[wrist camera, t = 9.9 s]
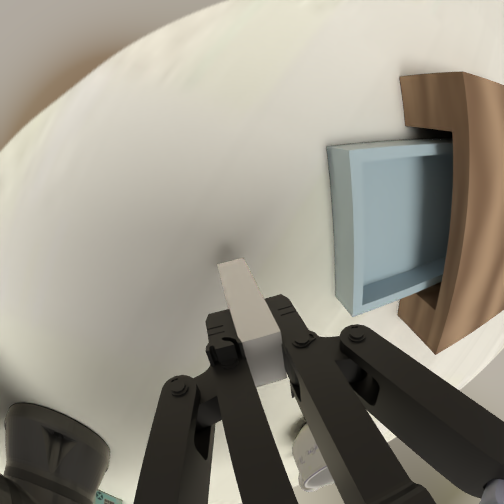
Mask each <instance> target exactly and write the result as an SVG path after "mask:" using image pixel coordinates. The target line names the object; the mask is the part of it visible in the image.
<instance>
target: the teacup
mask: <svg viewBox="0 0 504 504" xmlns="http://www.w3.org/2000/svg"><path fill="white" fill-rule="evenodd" d="M292 451H293V456H294V459H295V462H296V465H297V467H298V470H299V478H298V479H299V485H300V487H301V488H302V489H303V490H304V491H306V492H313V491H316V490H318V489H319V488H320V487H324V486H327V485H330V484H333V483H335V482H334V480H333V478H332V476H331V474H330V472H329V470H328V467H327V465H326V463H325V461H324V459H323V457H322V455H321V452H320V450H319V448H318V446H317V444H316V442H315V440H314V437H313V435H312V433H311V431H310V429H309V427H308V424H305V425H304V426H303V428H302V429H301V430H300V432H299V434H298V436H297V437H296V439H295V440H294V443H293V447H292Z"/></svg>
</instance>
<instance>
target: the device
mask: <svg viewBox="0 0 504 504" xmlns="http://www.w3.org/2000/svg"><path fill="white" fill-rule="evenodd" d="M93 504H122V500H121V499H118V498H116V497H113V496H111V495H109V494H106V493H104V492H102V491H100V490H97V492H96V494H95V496H94V499H93Z"/></svg>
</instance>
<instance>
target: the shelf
mask: <svg viewBox="0 0 504 504" xmlns="http://www.w3.org/2000/svg"><path fill="white" fill-rule="evenodd" d="M400 83H401V90H402V98H403V106H404V115H405V126H411V127H420V128H429V129H437V130H444V131H451V132H452V136H453V191H452V208H451V220H450V230H449V238H448V246H447V253H446V260H445V266H444V272H443V277H442V282H440V283H437V284H435V285H433V286H430V287H428V288H426V289H423V290H421V291H419V292H416V293H414V294H412V295H409V296H407V297H404V298H402V299H400V303H399V310H398V316H399V317H400V318H401V319H402V320H403V321H404V322H405V323H406V324H407V325H408V326H409V327H410V329H411V330H412V331H413V332H414V333H415V334H416V335H417V336H418V337H419V338H420V339H421V340H422V341H423V342H424V343H425V344H426V345H427V346H428V347H429V349H430V350H431V351H432V352H433V353H434V354H435V355H436V354H438V353H439V352H441V351H443V350H444V349H446V348H448V347H449V346H451V345H453V344H454V343H456V342H458V341H459V340H461V339H462V338H464V337H465V336H467V335H468V334H470V333H472V332H473V331H475V330H476V329H477V328H479V327H480V326H482V325H483V324H485V323H486V322H488V321H489V320H490V319H492V318H493V317H494V316H496V315H497V314H498V313H500V312H501V311H502V310H504V85H502V84H499V83H496V82H493V81H491V80H488V79H485V78H482V77H479V76H475V75H472V74H469V73H466V72H445V73H430V74H419V75H410V76H402V77H400Z"/></svg>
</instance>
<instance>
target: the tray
mask: <svg viewBox="0 0 504 504" xmlns="http://www.w3.org/2000/svg"><path fill="white" fill-rule="evenodd" d="M327 155H328V164H329V174H330V185H331V197H332V211H333V227H334V247H335V280H336V297H337V299H338V300H339V301H340V302H341V303H342V305H343V306H344V307H345V308H346V310H347V311H348V312H349V313H350V315H351V316H352V317H354V316H357V315H359V314H362V313H365V312H368V311H370V310H373V309H376V308H379V307H381V306H384V305H386V304H389V303H392V302H394V301H397V300H399V299H402V298H404V297H407V296H409V295H412V294H414V293H416V292H419V291H421V290H423V289H426V288H428V287H430V286H433V285H435V284H437V283H440V282H442V277H443V272H444V266H445V260H446V253H447V246H448V238H449V230H450V220H451V208H452V191H453V138H449V139H409V140H391V141H376V142H364V143H353V144H343V145H334V146H327Z"/></svg>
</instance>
